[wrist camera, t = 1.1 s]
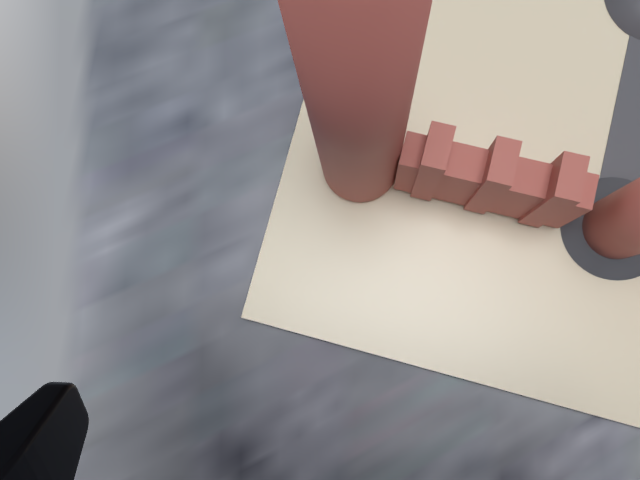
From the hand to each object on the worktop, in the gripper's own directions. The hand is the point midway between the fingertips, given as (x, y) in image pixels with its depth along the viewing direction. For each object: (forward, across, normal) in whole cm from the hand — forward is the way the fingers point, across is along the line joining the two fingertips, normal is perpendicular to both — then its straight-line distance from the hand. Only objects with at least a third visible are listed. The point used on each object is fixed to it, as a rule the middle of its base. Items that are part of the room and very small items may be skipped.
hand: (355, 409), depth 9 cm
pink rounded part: (+14, -3, +4) cm, 15 cm away
